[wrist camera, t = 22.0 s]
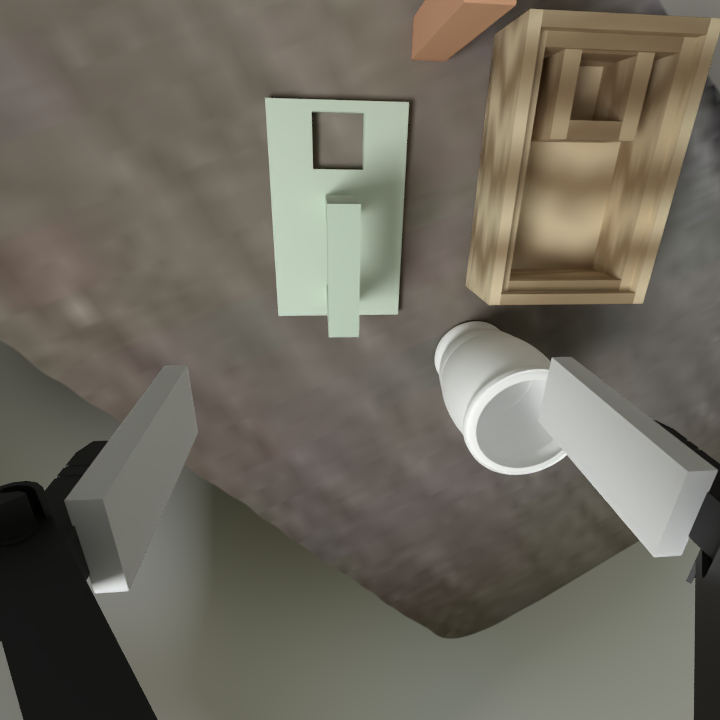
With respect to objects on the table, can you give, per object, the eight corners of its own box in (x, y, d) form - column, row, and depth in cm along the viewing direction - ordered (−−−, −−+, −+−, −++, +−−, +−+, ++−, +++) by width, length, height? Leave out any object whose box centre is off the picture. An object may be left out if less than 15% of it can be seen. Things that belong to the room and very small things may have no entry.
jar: (530, 323, 49) (612, 384, 36) (495, 402, 53) (556, 485, 40) (442, 301, 47) (493, 356, 34) (412, 384, 51) (447, 465, 38)
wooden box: (494, 34, 38) (530, 8, 32) (657, 41, 39) (723, 18, 33) (465, 285, 47) (488, 305, 41) (599, 285, 48) (642, 303, 42)
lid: (266, 99, 38) (249, 78, 29) (406, 103, 40) (435, 84, 30) (279, 312, 46) (269, 351, 37) (396, 311, 47) (416, 348, 38)
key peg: (413, 17, 37) (470, -68, 23) (448, 19, 37) (524, -65, 24) (411, 59, 38) (464, 2, 25) (445, 61, 39) (516, 5, 25)
